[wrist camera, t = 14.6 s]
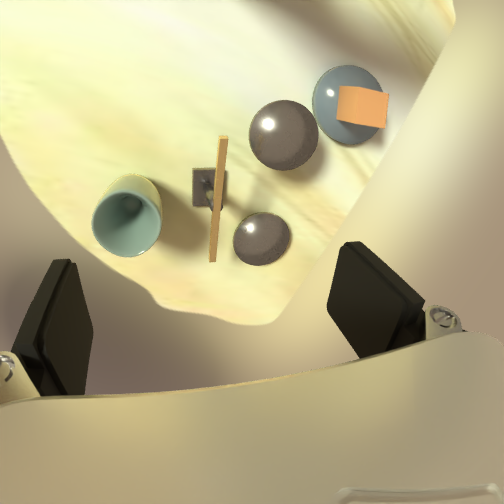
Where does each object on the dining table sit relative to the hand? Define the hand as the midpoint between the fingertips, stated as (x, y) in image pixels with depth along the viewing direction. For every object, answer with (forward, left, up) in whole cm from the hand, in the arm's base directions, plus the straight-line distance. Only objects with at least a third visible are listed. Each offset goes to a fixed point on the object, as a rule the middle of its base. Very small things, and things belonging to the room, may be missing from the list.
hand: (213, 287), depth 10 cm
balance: (+6, +9, -32) cm, 34 cm away
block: (-7, +24, -31) cm, 40 cm away
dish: (-7, +24, -32) cm, 41 cm away
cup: (+7, -6, -32) cm, 34 cm away
